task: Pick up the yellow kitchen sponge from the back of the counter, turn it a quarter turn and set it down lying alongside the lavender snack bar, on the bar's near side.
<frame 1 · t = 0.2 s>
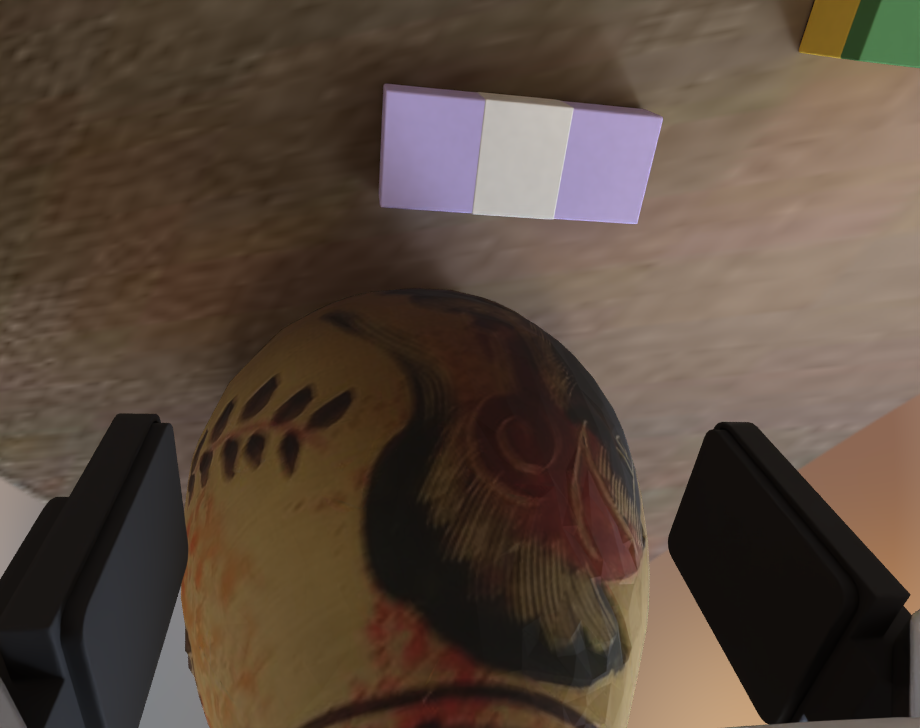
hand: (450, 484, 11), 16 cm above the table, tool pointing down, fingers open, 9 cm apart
ceramic jug: (414, 399, 30), on the table
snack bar: (511, 151, 25), on the table
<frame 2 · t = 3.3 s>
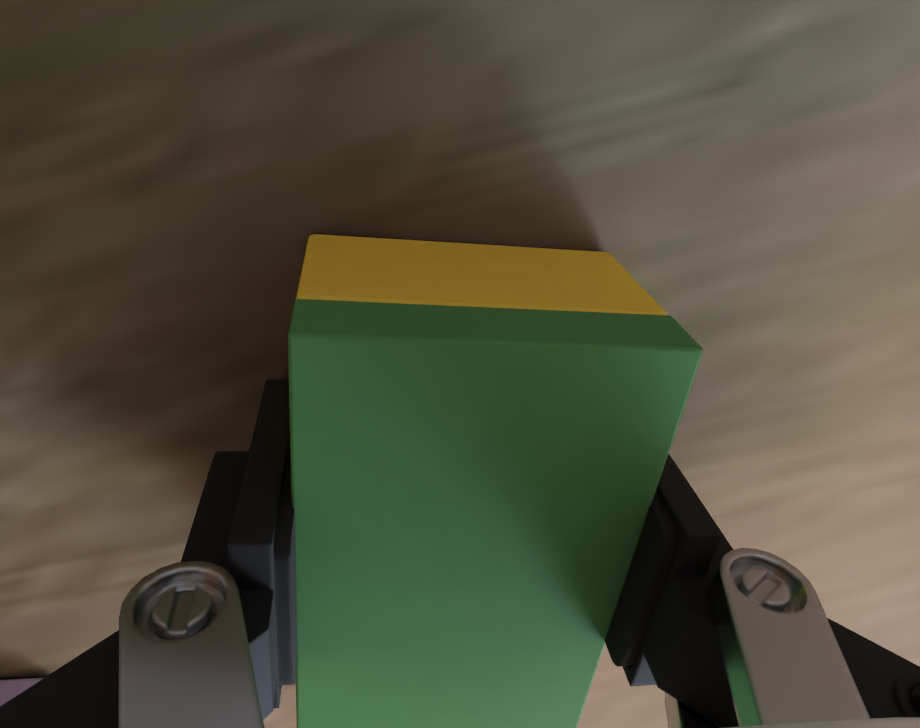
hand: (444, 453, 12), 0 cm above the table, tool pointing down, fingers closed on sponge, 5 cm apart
sponge: (441, 439, 12), on the table, touching gripper
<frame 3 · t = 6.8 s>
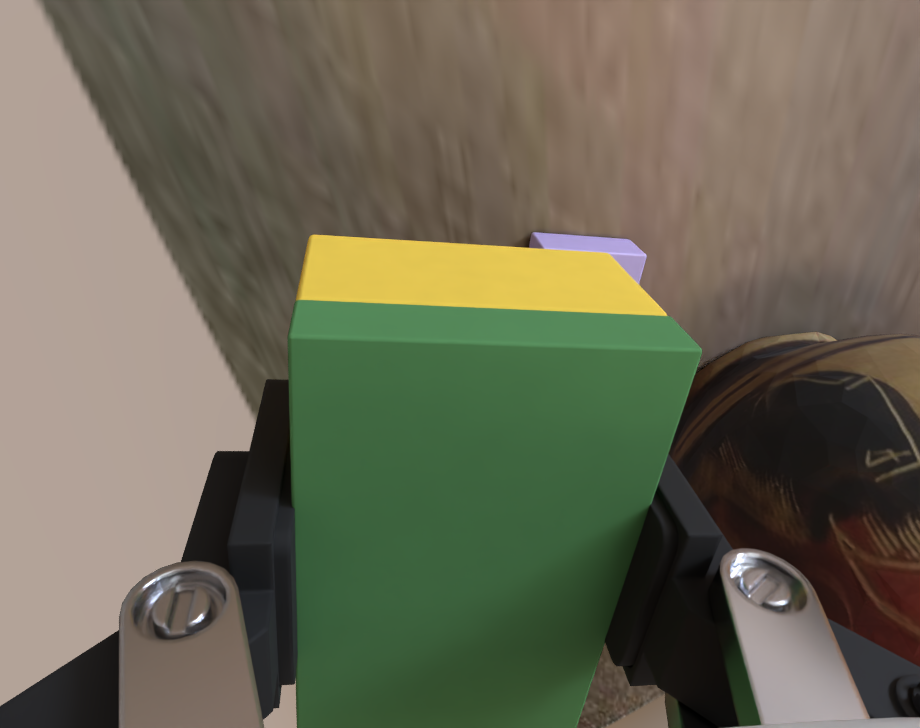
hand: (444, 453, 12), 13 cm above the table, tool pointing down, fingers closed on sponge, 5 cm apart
ceramic jug: (773, 409, 31), on the table
sponge: (441, 440, 12), point 13 cm above the table, touching gripper
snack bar: (556, 349, 27), on the table
when the fingers open (0 cm above the table, at t = 10.3 s): sponge stays where it is, on the table.
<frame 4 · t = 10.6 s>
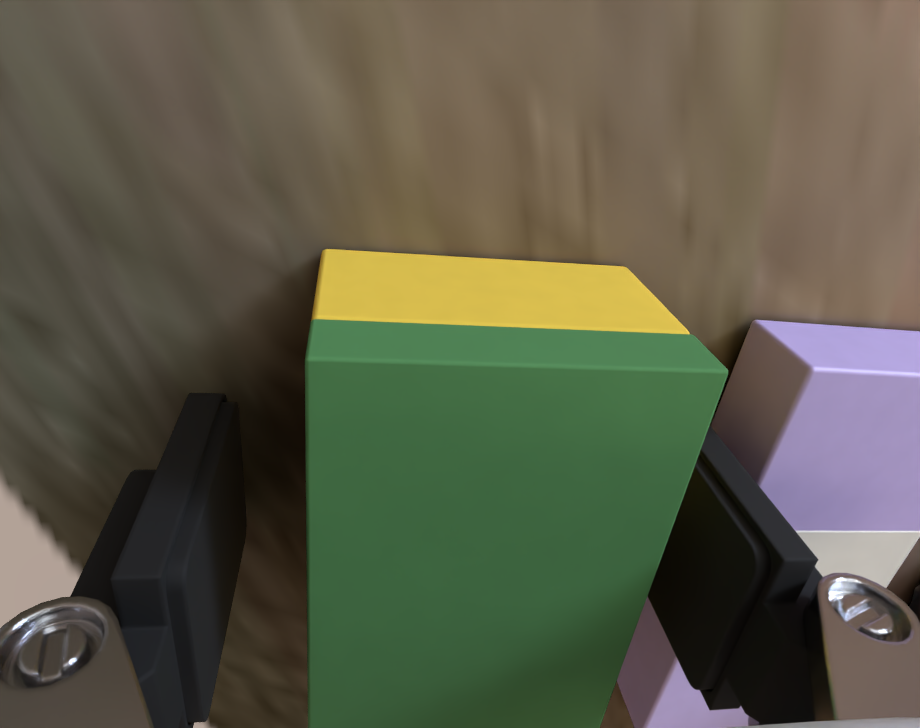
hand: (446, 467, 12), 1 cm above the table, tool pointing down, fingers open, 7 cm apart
sponge: (454, 455, 12), on the table
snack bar: (751, 525, 14), on the table, touching gripper
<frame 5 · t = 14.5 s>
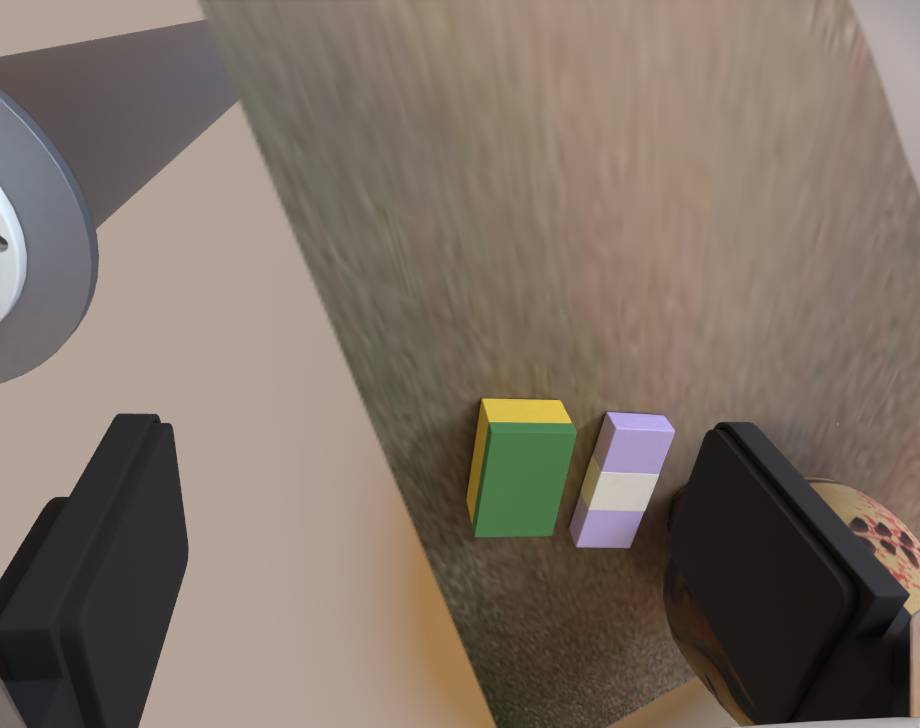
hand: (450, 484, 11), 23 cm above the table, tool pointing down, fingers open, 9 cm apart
ceramic jug: (740, 503, 47), on the table
sponge: (511, 451, 41), on the table
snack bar: (614, 474, 43), on the table
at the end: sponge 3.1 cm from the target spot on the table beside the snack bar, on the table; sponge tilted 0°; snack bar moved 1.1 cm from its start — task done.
